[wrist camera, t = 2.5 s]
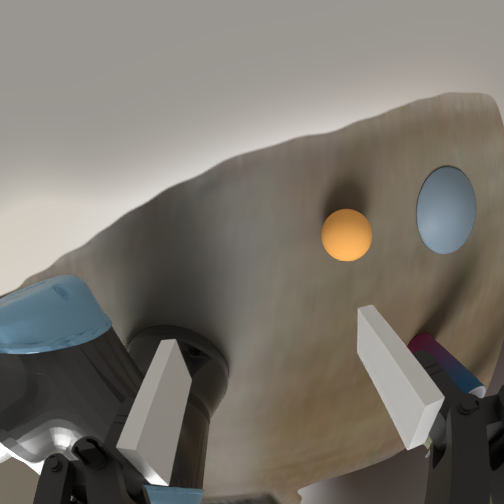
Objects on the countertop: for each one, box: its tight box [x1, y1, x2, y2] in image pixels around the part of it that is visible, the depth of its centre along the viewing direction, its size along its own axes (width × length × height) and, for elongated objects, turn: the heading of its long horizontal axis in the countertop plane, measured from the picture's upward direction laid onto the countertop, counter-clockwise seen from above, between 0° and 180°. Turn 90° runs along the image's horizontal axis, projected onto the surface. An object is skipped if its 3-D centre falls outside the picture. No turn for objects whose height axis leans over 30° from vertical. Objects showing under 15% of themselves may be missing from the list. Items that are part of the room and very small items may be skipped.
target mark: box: [416, 167, 476, 254], centre depth 30 cm, size 12×12×1 cm
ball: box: [321, 209, 372, 261], centre depth 28 cm, size 6×6×6 cm
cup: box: [407, 333, 486, 398], centre depth 29 cm, size 7×7×15 cm
